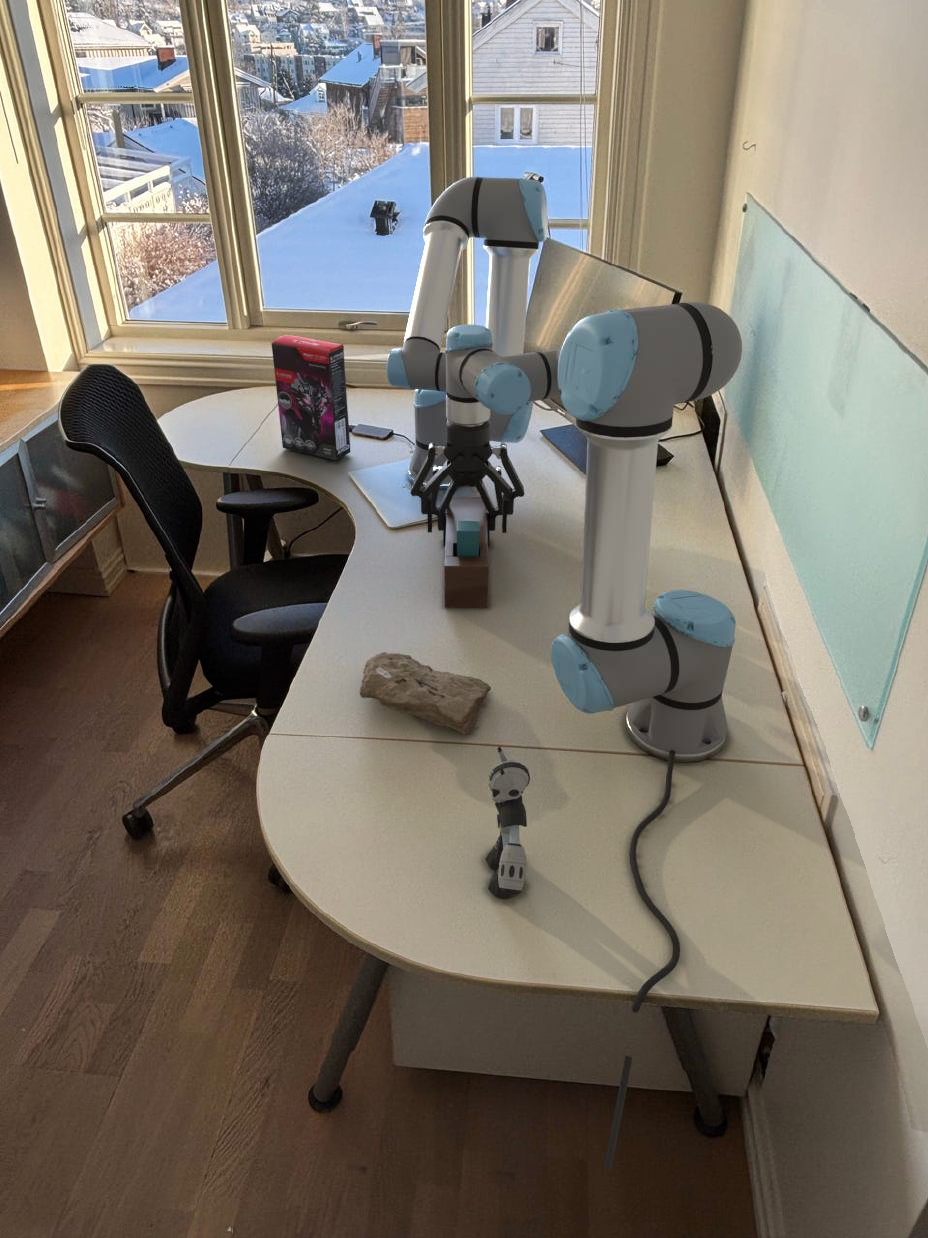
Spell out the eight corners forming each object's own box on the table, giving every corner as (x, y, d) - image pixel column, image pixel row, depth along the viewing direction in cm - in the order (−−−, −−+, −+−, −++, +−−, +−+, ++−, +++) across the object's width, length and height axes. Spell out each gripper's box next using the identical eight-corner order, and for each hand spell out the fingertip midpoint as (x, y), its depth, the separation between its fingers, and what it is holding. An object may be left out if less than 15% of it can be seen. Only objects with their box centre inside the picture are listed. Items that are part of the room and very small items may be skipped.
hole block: (487, 607, 172) (488, 566, 167) (444, 607, 172) (444, 565, 167) (485, 535, 195) (486, 497, 190) (447, 535, 195) (447, 496, 190)
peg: (477, 596, 175) (479, 531, 167) (456, 595, 175) (457, 530, 167) (477, 585, 178) (478, 520, 171) (457, 584, 178) (457, 520, 171)
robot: (531, 936, 111) (540, 818, 100) (491, 937, 111) (496, 820, 100) (516, 817, 127) (522, 704, 116) (481, 818, 127) (484, 705, 116)
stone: (334, 705, 142) (341, 671, 140) (369, 669, 156) (376, 637, 153) (461, 752, 139) (471, 718, 136) (486, 710, 152) (495, 679, 150)
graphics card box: (280, 449, 231) (268, 340, 216) (296, 439, 236) (286, 332, 221) (337, 462, 224) (328, 351, 209) (352, 452, 229) (345, 343, 214)
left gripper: (520, 433, 182) (515, 535, 195) (414, 432, 182) (417, 534, 195) (522, 449, 176) (517, 553, 188) (412, 448, 176) (415, 552, 188)
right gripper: (539, 411, 160) (533, 520, 172) (396, 410, 160) (400, 519, 172) (542, 428, 154) (536, 539, 166) (393, 426, 154) (397, 538, 166)
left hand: (466, 543), depth 191 cm, fingers closed on hole block, 8 cm apart
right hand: (467, 529), depth 169 cm, fingers open, 13 cm apart
